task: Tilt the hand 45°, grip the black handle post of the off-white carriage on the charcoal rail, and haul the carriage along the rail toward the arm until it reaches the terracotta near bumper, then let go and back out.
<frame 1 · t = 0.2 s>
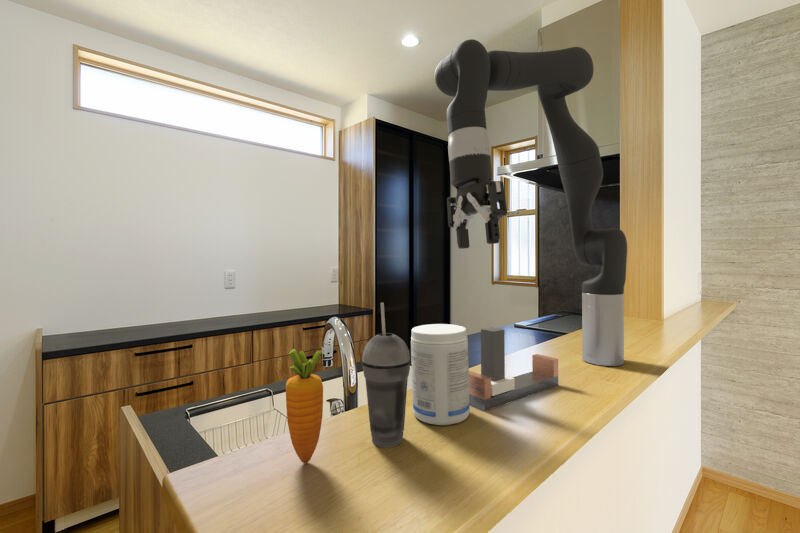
hand: (477, 246, 68), 29 cm above the table, tool pointing down, fingers open, 8 cm apart
supplement tub: (440, 416, 63), on the table
beverage cup: (387, 441, 55), on the table
carriage: (492, 359, 69), point 8 cm above the table, slide at 0.0 cm
rail: (513, 393, 73), on the table
carrot: (305, 464, 48), on the table
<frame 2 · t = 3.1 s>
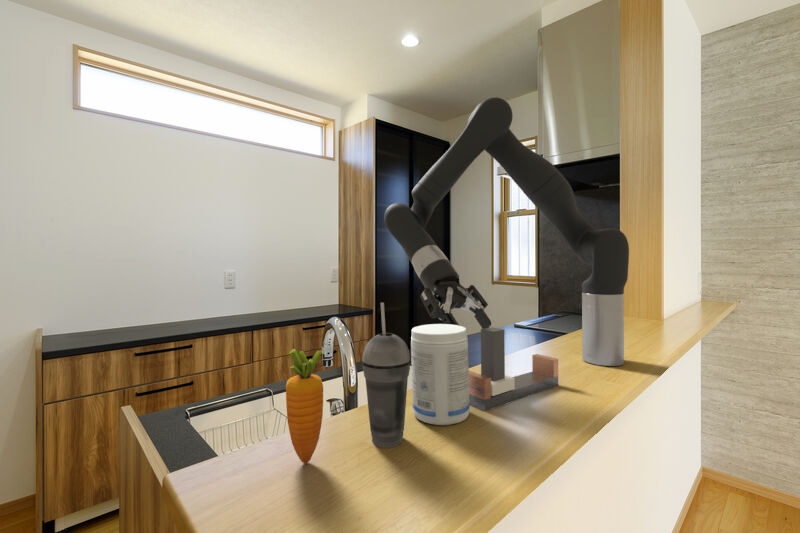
hand: (473, 329, 73), 12 cm above the table, tool tilted 45°, fingers open, 8 cm apart
nothing on the table moved.
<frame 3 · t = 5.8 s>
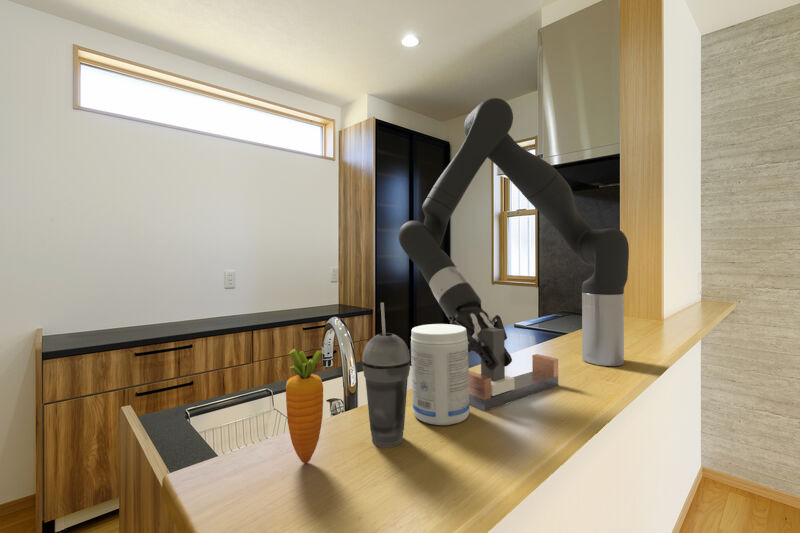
hand: (501, 365, 67), 7 cm above the table, tool tilted 45°, fingers closed on carriage, 3 cm apart
carriage: (492, 359, 69), point 8 cm above the table, slide at 0.0 cm, touching gripper
everything else where it was.
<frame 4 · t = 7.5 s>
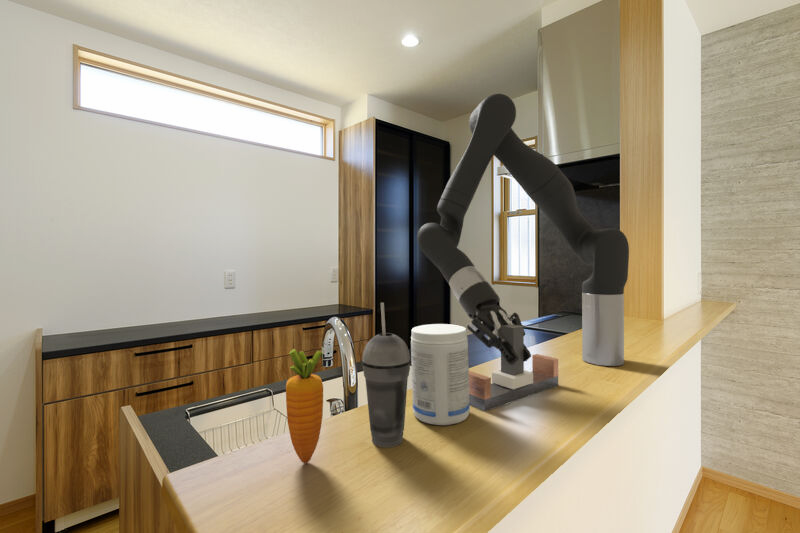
hand: (521, 360, 71), 7 cm above the table, tool tilted 45°, fingers closed on carriage, 3 cm apart
carriage: (512, 354, 72), point 8 cm above the table, slide at 5.6 cm, touching gripper
everything else where it was.
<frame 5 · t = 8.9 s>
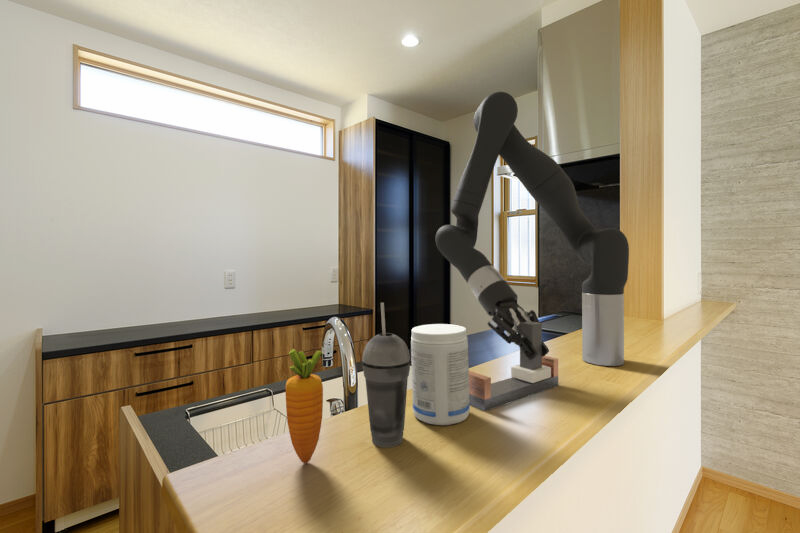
hand: (539, 355, 74), 7 cm above the table, tool tilted 45°, fingers closed on carriage, 3 cm apart
carriage: (530, 349, 75), point 8 cm above the table, slide at 11.4 cm, touching gripper
everything else where it was.
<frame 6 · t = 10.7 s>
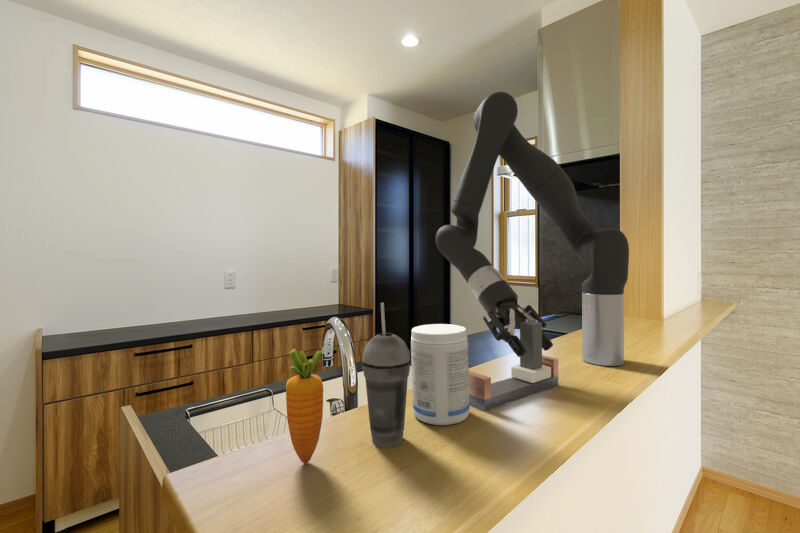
hand: (536, 351, 74), 8 cm above the table, tool tilted 45°, fingers open, 8 cm apart
carriage: (531, 349, 76), point 8 cm above the table, slide at 11.4 cm
everything else where it was.
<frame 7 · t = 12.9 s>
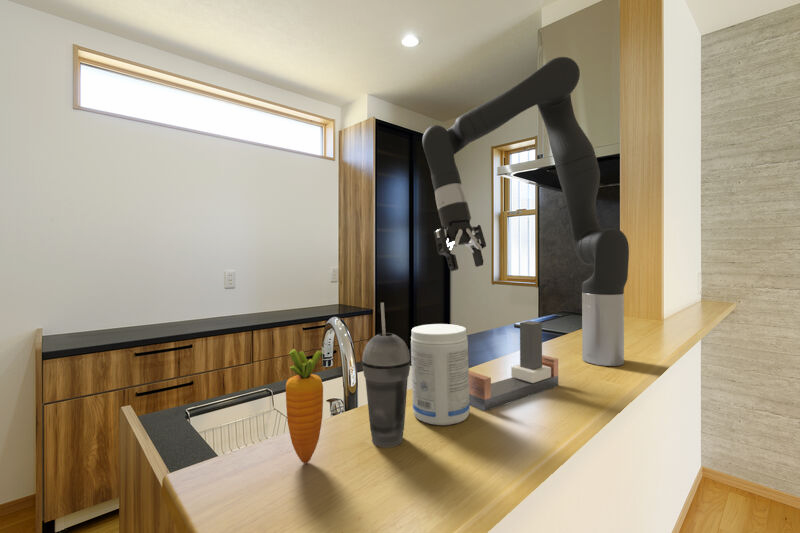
hand: (467, 268, 92), 24 cm above the table, tool pointing down, fingers open, 8 cm apart
nothing on the table moved.
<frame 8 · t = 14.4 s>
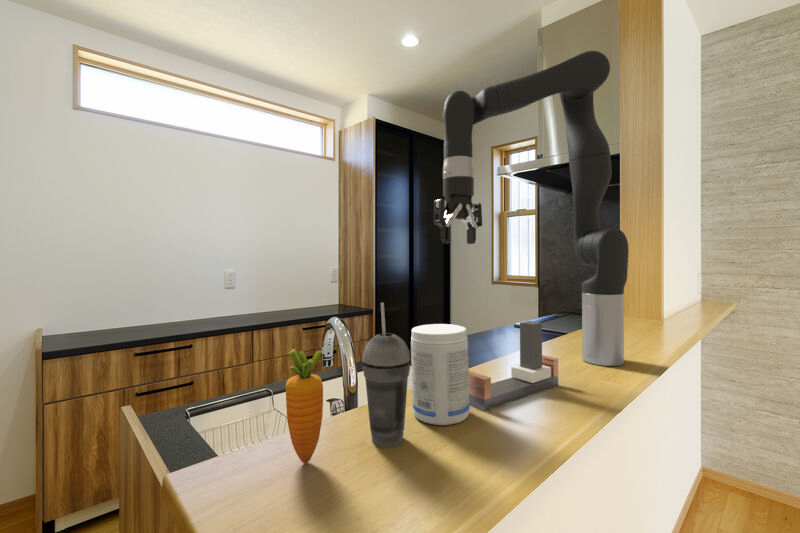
hand: (458, 243, 93), 30 cm above the table, tool pointing down, fingers open, 8 cm apart
nothing on the table moved.
at the end: carriage slide at 11.4 cm; the gripper is holding nothing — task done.
